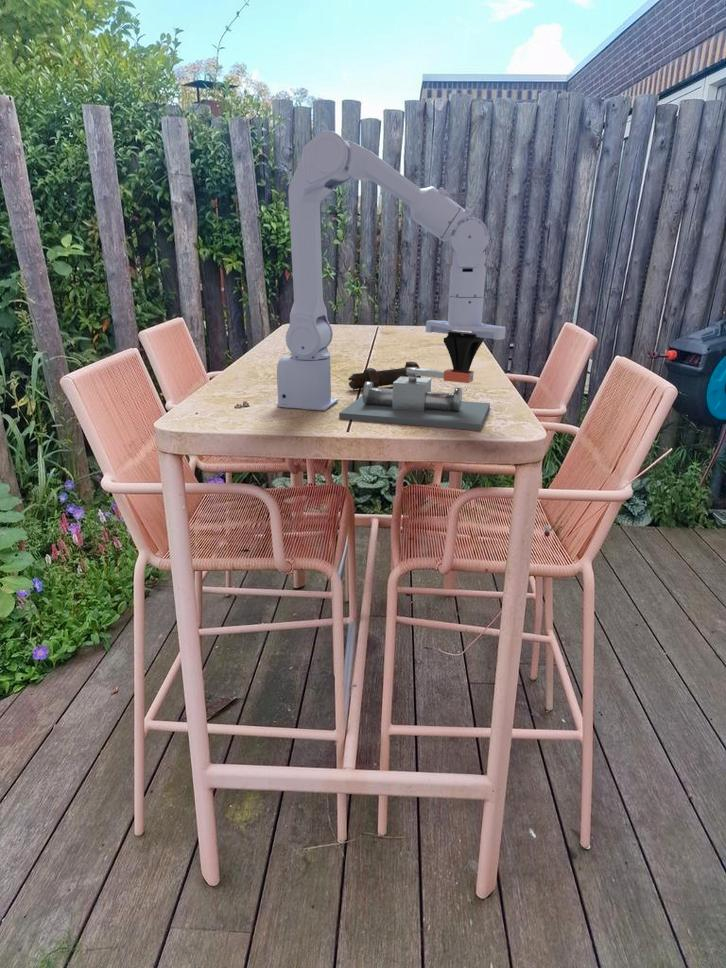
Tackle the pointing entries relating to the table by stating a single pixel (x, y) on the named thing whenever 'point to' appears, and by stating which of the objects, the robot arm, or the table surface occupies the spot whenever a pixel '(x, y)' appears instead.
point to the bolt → (379, 376)
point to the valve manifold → (412, 396)
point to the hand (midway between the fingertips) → (460, 377)
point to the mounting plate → (420, 415)
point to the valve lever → (443, 374)
